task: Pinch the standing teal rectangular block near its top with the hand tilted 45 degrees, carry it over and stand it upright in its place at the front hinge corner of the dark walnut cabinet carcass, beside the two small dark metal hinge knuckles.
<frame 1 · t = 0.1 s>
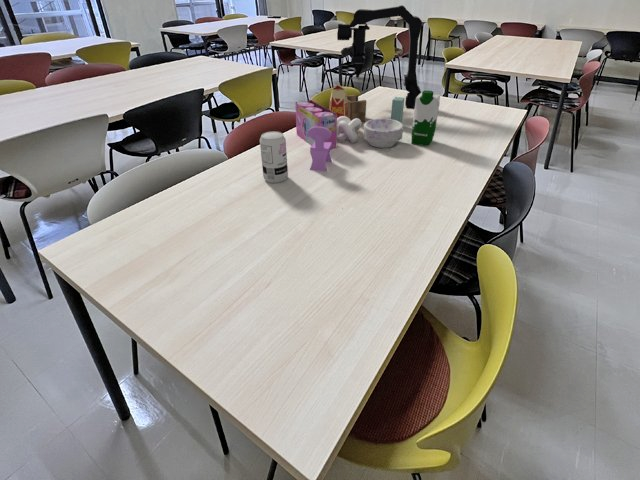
hand: (357, 75, 192), 15 cm above the table, tool pointing down, fingers open, 9 cm apart
teal rectangular block: (395, 126, 173), on the table
milk carton: (338, 129, 172), on the table
gum box: (315, 141, 160), on the table
toy chair: (321, 165, 140), on the table
soya milk: (422, 142, 157), on the table
white knot sculpture: (345, 140, 160), on the table
supplement can: (276, 178, 132), on the table
cabinet carcass: (352, 119, 182), on the table
marble bowl: (382, 144, 156), on the table
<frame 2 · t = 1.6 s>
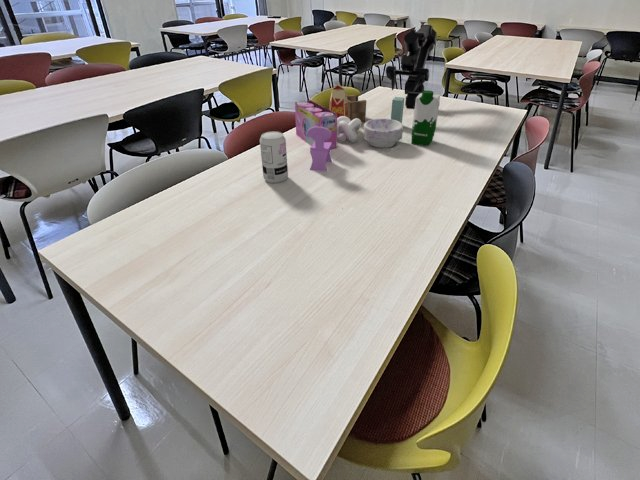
hand: (402, 90, 172), 13 cm above the table, tool tilted 45°, fingers open, 9 cm apart
nothing on the table moved.
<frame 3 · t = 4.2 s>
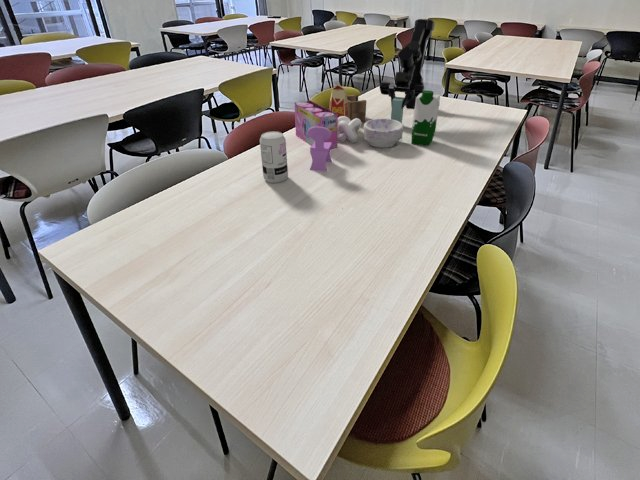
hand: (396, 107, 167), 9 cm above the table, tool tilted 45°, fingers closed on teal rectangular block, 4 cm apart
teal rectangular block: (395, 126, 173), on the table, touching gripper
everything else where it was.
when the fingers open (10 cm above the table, at t = 7.7 s): teal rectangular block drops 1 cm, on the table.
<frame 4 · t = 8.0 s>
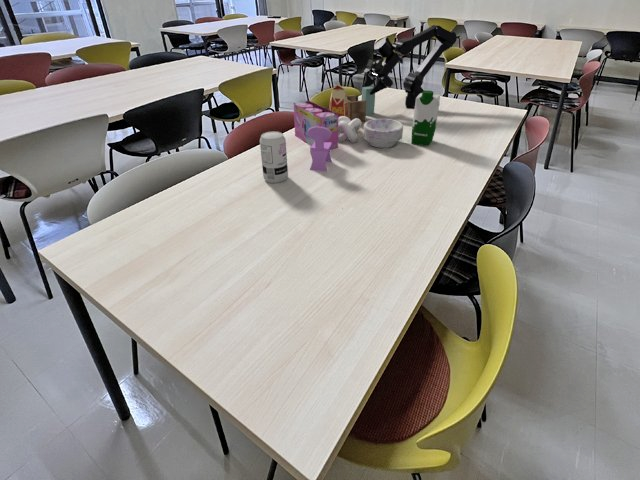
hand: (366, 92, 183), 10 cm above the table, tool tilted 45°, fingers open, 8 cm apart
teal rectangular block: (367, 113, 190), on the table
everything else where it was.
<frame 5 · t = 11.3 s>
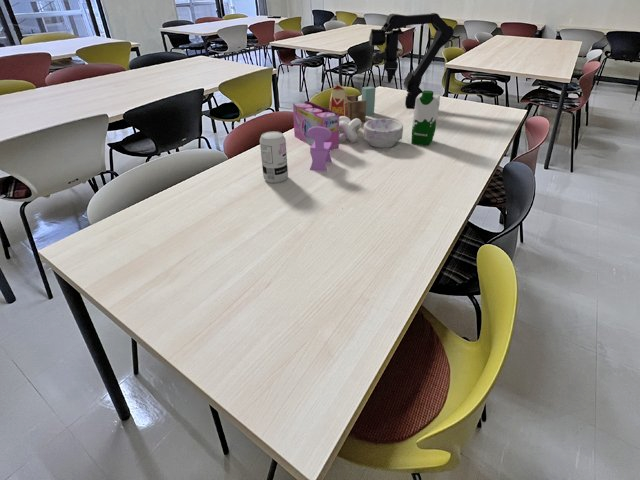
hand: (388, 80, 189), 13 cm above the table, tool pointing down, fingers open, 9 cm apart
at the end: teal rectangular block inside the target area (0.1 cm from its centre), on the table; teal rectangular block tilted 0°; teal rectangular block touching table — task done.
